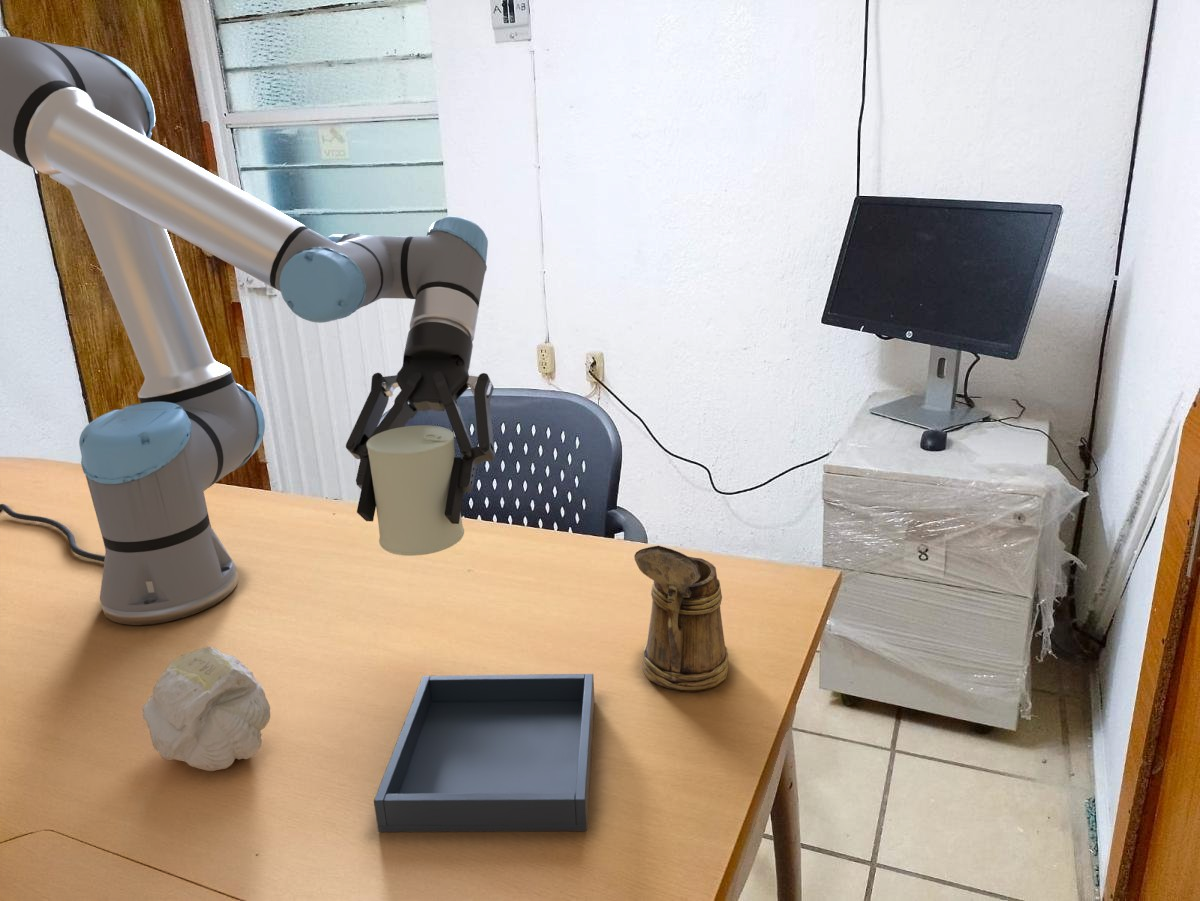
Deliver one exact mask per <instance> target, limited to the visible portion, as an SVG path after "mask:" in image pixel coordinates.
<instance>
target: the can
mask: <svg viewBox="0 0 1200 901" xmlns="http://www.w3.org/2000/svg"><path fill="white" fill-rule="evenodd" d="M366 445H367V449H368V454H369V460H370V467H371V474H372V480H373V487H374V494H375V501H376V509H375V510H376V514H377V516H376V517H377V523H378V532H379V537H378V538H379V539H378V543H379V546H380V547H381V549H383V550H384V551H386V552H388V553H389V554H394V555H398V556H408V557H411V556H412V557H414V556H426V555H430V554H435V553H439V552H442V551H444V550H447V549H449V548H452V547H453V546H455V545H457V543H459V542H460V541H461V540H462V539H463V537H464V535H465V528H464V526H463V519H462V512H461V513H460V520H459V524H452V523H451V522H450V521H449V519H448V518H447V517H446V516H445V509H446V503H447V496H448V490H449V484H450V478H451V472H452V467H453V462H454V457H456V450H455V449H456V448H455V434H454V432H453V430H451V429H449V428H446V427H443V426H438V425H427V424H426V425H424V424H423V425H421V424H420V425H407V426H406V425H405V426H404V427H400V428H395V429H390V430H387V431H384V432H381V433H378V434H376V435H374V436H373V437H371V438H370V439H369V440H368V441H367V444H366Z"/></svg>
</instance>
